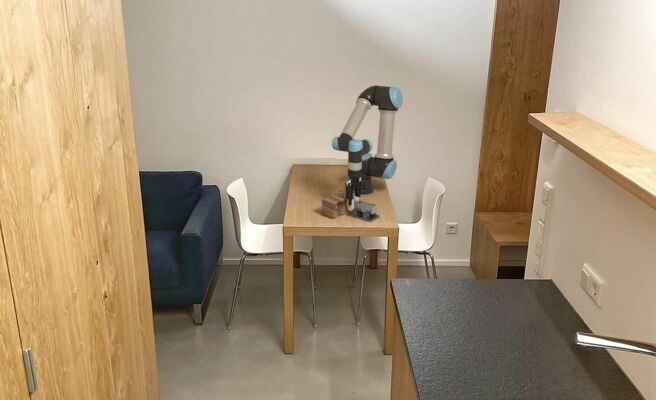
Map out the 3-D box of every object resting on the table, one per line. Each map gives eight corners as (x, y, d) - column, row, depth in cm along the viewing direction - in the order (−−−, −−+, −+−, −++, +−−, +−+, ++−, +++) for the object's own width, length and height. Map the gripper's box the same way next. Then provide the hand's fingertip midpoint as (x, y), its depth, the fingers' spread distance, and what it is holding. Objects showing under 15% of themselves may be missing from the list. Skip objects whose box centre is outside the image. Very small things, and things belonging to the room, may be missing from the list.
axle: (354, 206, 342) (354, 199, 341) (376, 212, 334) (377, 204, 332) (350, 208, 339) (350, 201, 338) (372, 214, 330) (372, 206, 329)
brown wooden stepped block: (335, 209, 347) (335, 194, 343) (346, 213, 342) (347, 197, 339) (322, 215, 338) (322, 199, 335) (333, 219, 333) (333, 203, 330)
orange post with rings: (353, 210, 346) (353, 185, 341) (334, 208, 348) (335, 183, 343) (356, 203, 358) (357, 178, 353) (338, 201, 360) (339, 177, 355)
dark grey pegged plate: (355, 210, 346) (356, 203, 344) (379, 217, 337) (379, 210, 335) (346, 215, 339) (346, 207, 338) (369, 222, 330) (370, 214, 328)
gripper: (358, 164, 341) (357, 203, 349) (339, 171, 329) (338, 211, 337) (369, 166, 337) (367, 206, 345) (350, 173, 324) (349, 215, 332)
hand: (353, 209), depth 341 cm, fingers closed on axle, 4 cm apart
